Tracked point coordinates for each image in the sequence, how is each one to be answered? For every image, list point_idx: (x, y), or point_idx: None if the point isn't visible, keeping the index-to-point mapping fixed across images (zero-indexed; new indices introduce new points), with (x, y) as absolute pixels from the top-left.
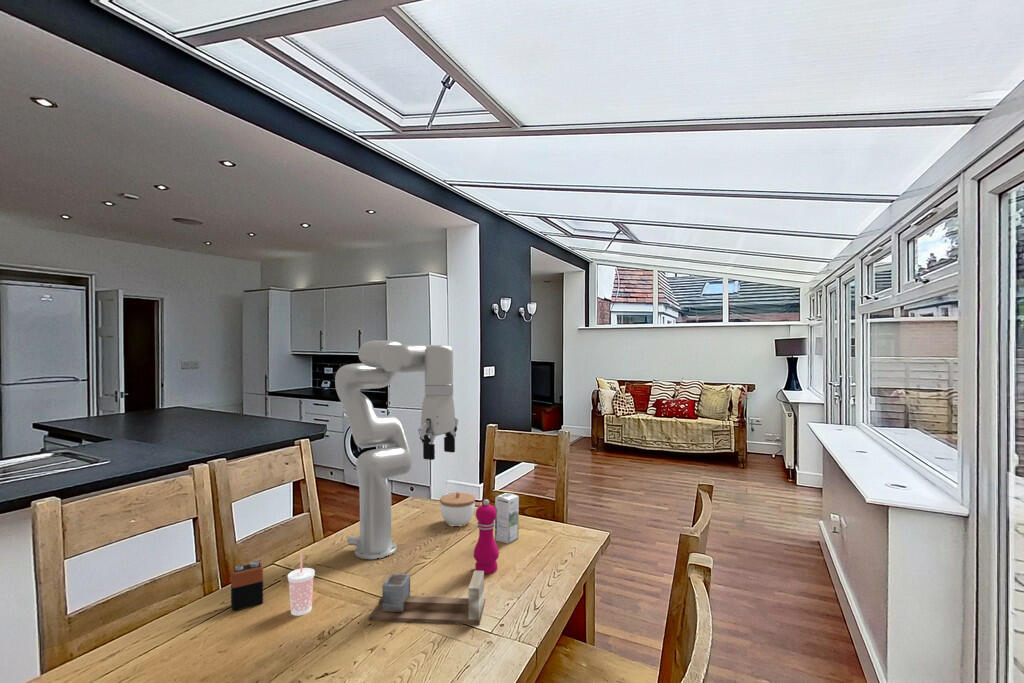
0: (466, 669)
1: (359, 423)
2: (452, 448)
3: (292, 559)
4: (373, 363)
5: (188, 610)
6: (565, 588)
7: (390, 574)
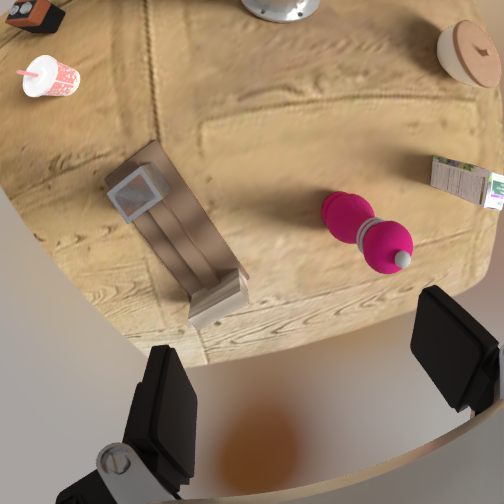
0: (134, 338)
1: None
2: (421, 360)
3: None
4: None
5: None
6: (338, 330)
7: (139, 168)
